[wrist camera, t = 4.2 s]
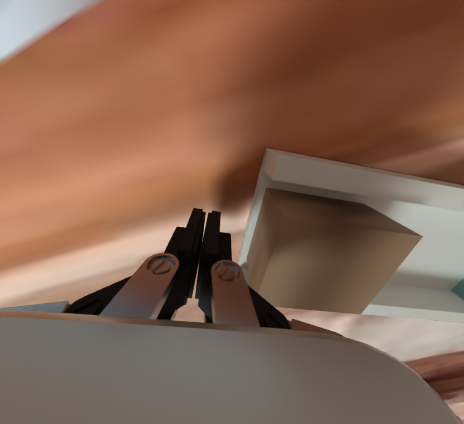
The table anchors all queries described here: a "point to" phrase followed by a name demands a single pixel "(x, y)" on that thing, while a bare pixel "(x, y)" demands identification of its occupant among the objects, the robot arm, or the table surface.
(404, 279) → the chute
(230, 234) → the robot arm
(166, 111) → the table surface
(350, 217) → the walnut block
